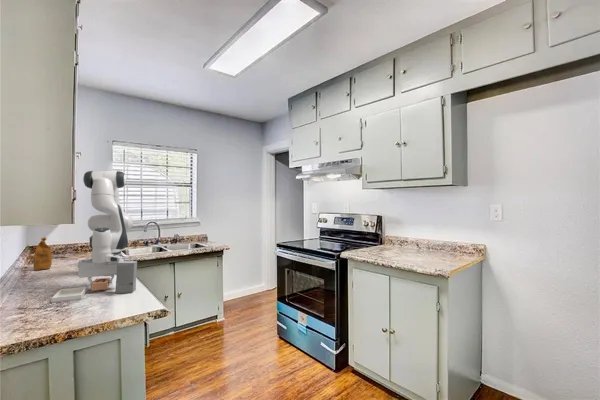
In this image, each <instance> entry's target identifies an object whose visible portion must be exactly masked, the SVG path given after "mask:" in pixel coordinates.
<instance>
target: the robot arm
mask: <svg viewBox="0 0 600 400" xmlns="http://www.w3.org/2000/svg"><path fill="white" fill-rule="evenodd" d="M82 181H83V184H84V186H85V187H86V188H88V189H91V191H90V202H91V203H90V204H91V206H92V207H93V209H95V210H97V211H98V212H101V213H104V214H96V215H92V216H90V217H89V219H88V220H87V227H88V228H89V230H90V231H92V235H91V236H90V237H89V248H90V249H92V251H91V258H87V259H80V260H79V261H78V262H77V268H78V271H77V272H78V273H77V277H78V278H79V279H81V278H84V279H85V278H87V280H88V281H89V282H90V283H89V284H90V286H92V283H93V282H94V281H95V280H92V278H93V277H94V278H95V277H103V276H104V277H105V276H110V280H109V283H110V284H113V279H114V278H115V276H117V263H118V262H121V261H124V259H123V258H122V250H123V249H125V248H127V247H128V246H129V243H130V242H129V241H130V237H129V235H128V233H127V231H128V230H131V228H132V227H133V225H134V220H133V217H132V216H131V215H129V214H127V213H126V211H124V209H123V208H122V206H121V201H120V194H119V193H120V192H119V189H121V188H124V187H125V186H126V185H127V184H126V183H127V176H126V175H125V173H124V172H123V171H120V170H117V171H116V170H89V171H86V172H85V173H84V174H83V177H82Z"/></svg>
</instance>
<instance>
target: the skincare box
mask: <svg viewBox="0 0 600 400" xmlns="http://www.w3.org/2000/svg"><path fill="white" fill-rule="evenodd" d="M137 271H138V261H137V260H123V261H121V262H118V263H117V275H115V278H116V279H115V294H116V295H119V294H129V293H130V294H131V293H132V294H133V293H134V292H135V291H136V288H137Z"/></svg>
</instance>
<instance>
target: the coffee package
mask: <svg viewBox="0 0 600 400" xmlns="http://www.w3.org/2000/svg"><path fill="white" fill-rule="evenodd" d="M46 240H47V237H45V236H44V237H41V241H39V243H38V244H37V246H36V248H35V251H34V255H33V270H34V271H42V270H47V269H48V270H49V269H50V268H51V267H52V261H53V255H52V250H51V247H49V245H47V243H46Z"/></svg>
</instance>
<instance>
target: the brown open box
mask: <svg viewBox="0 0 600 400" xmlns="http://www.w3.org/2000/svg"><path fill="white" fill-rule="evenodd" d="M102 280H103V282H99V281H102ZM109 280H111V277H102V278H96V279H94V280H93V281H94V282H93V283H92V285H91V291H98V290H103V291H105V290H107V289H109V286H110V285H111V283H109Z"/></svg>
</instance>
